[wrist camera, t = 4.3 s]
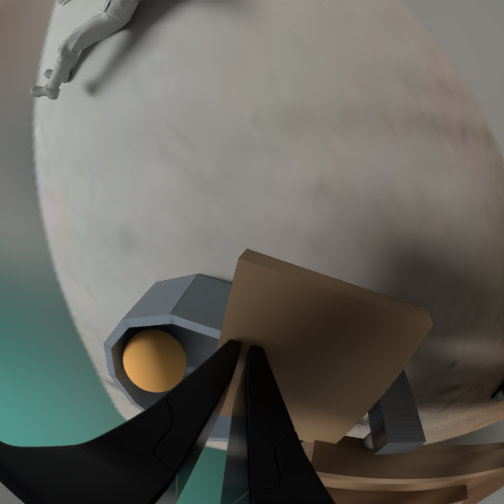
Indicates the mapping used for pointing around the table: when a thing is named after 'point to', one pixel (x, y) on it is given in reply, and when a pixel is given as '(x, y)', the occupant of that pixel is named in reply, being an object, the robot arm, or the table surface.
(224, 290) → the cup
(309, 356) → the lever
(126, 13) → the soldier figure
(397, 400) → the lever stand
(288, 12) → the table surface
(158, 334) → the ball
